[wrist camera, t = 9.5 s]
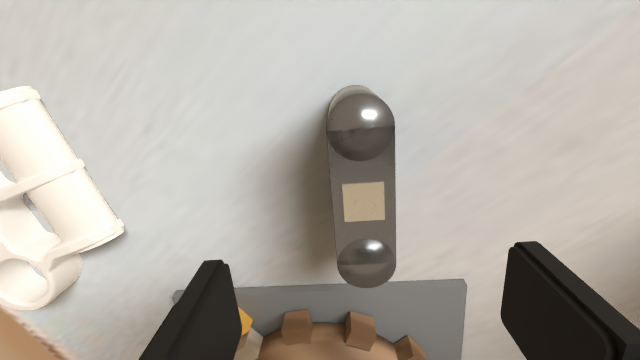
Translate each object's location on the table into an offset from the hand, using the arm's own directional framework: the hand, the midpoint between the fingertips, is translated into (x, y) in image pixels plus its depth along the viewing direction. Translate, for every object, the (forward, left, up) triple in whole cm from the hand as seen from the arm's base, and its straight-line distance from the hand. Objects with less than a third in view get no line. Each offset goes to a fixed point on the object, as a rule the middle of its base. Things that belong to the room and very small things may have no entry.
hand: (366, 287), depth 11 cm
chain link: (0, 0, -13) cm, 13 cm away
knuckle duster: (+26, 0, -14) cm, 30 cm away
